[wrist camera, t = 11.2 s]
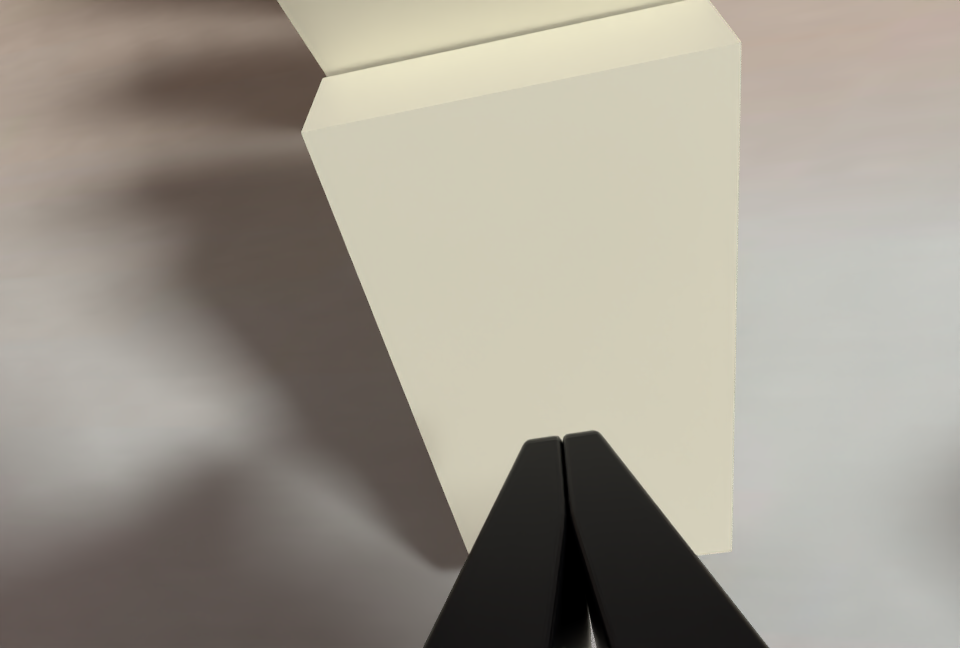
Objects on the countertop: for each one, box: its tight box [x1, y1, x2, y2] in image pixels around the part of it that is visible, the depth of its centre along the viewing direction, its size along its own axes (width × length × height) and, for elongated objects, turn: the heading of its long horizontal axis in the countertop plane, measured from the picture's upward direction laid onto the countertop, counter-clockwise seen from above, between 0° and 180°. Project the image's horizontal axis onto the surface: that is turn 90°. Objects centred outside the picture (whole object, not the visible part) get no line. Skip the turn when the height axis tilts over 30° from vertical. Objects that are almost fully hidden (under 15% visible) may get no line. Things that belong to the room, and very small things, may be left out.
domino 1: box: [277, 0, 685, 77], centre depth 12 cm, size 2×5×10 cm, turn 97°
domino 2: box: [301, 0, 741, 556], centre depth 12 cm, size 2×5×10 cm
